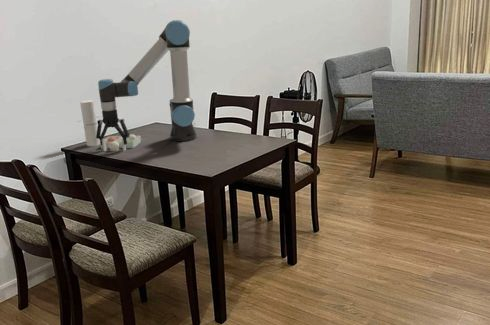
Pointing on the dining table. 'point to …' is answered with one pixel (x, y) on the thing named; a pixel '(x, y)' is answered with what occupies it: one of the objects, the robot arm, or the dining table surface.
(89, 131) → the cylindrical container
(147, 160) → the dining table surface
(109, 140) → the terracotta ball
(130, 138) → the ivory ball
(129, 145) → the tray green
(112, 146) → the ivory ball
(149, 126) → the dining table surface
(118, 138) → the tray offwhite
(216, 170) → the dining table surface
